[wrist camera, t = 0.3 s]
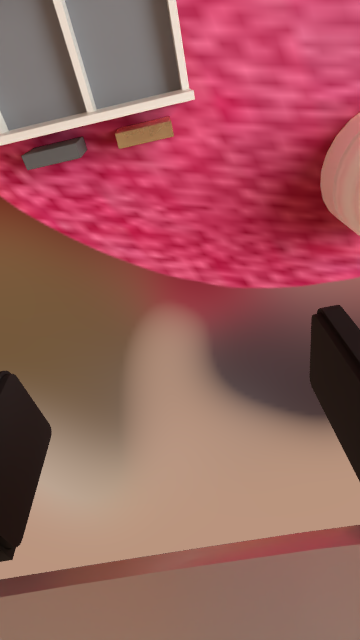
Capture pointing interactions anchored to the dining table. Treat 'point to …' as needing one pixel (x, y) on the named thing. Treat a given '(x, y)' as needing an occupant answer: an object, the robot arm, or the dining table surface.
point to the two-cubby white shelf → (86, 63)
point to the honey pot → (343, 176)
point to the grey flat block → (54, 153)
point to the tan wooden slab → (144, 132)
